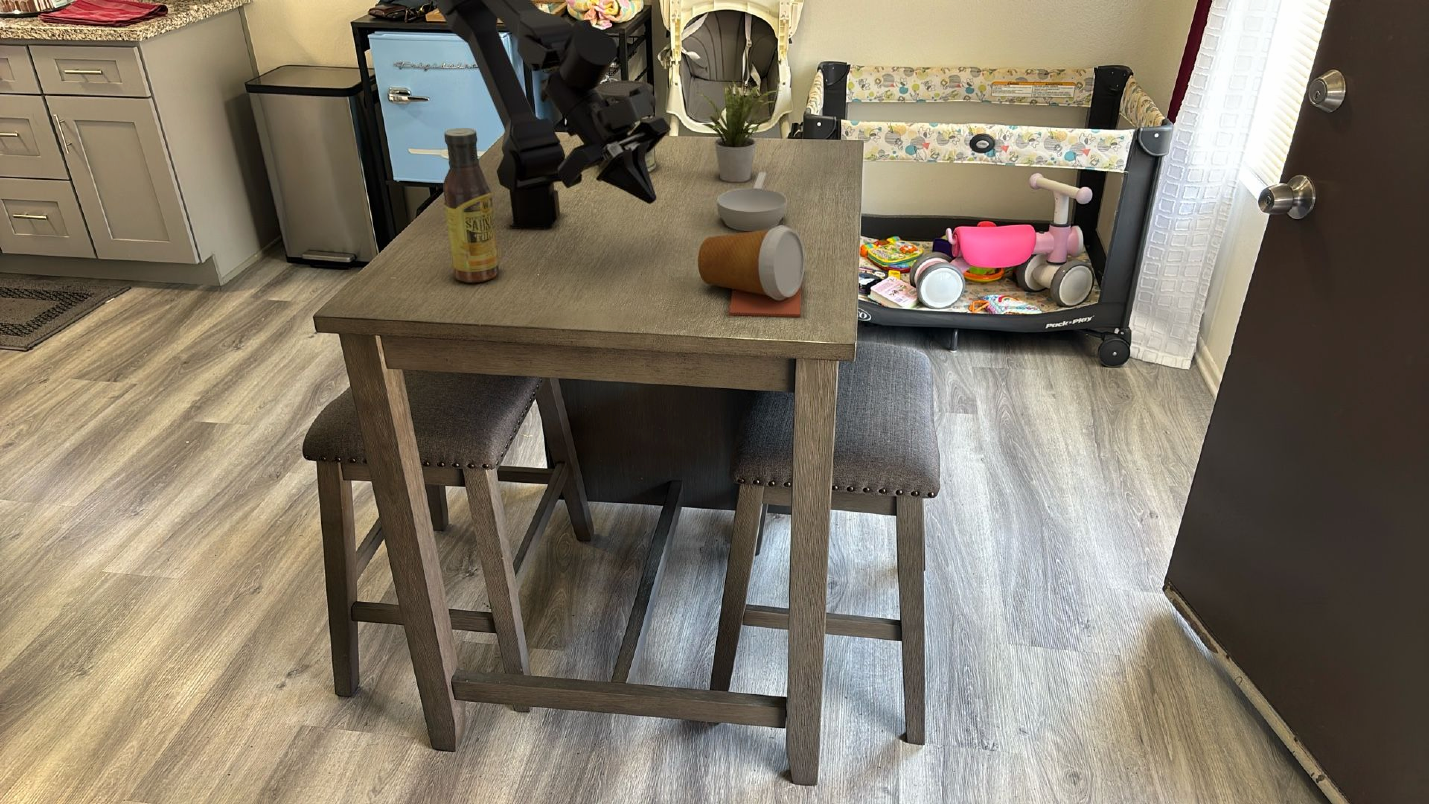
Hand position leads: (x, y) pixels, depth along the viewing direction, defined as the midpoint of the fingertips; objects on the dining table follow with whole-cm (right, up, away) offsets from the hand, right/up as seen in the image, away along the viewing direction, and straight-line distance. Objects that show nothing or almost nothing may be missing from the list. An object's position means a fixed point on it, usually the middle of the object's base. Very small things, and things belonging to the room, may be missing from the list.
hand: (653, 201), depth 133 cm
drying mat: (+15, -13, -2) cm, 20 cm away
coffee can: (-7, +15, +44) cm, 47 cm away
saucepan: (+15, +3, +24) cm, 28 cm away
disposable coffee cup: (+8, -8, -1) cm, 11 cm away
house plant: (+13, +12, +39) cm, 42 cm away
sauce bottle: (-24, -10, +4) cm, 27 cm away
